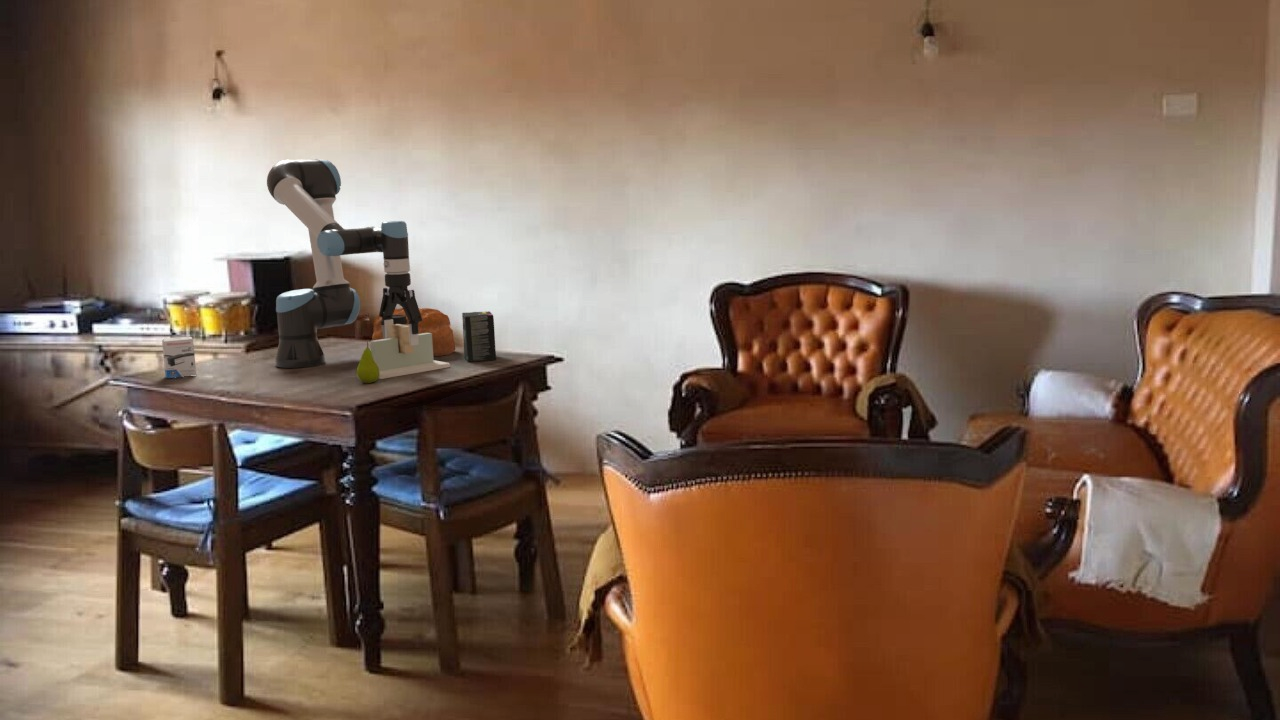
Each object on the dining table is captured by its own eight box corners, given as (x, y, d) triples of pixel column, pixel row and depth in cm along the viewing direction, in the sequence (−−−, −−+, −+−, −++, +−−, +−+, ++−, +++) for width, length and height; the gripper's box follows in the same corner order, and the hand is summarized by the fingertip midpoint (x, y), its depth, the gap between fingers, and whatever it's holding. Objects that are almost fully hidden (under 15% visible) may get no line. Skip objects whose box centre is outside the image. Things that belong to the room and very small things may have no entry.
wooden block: (391, 351, 336) (389, 325, 334) (399, 349, 338) (397, 324, 336) (405, 353, 330) (403, 327, 329) (413, 352, 332) (412, 326, 331)
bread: (388, 349, 376) (385, 304, 373) (459, 351, 369) (457, 305, 366) (368, 356, 363) (364, 310, 360) (441, 358, 356) (438, 310, 353)
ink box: (166, 379, 331) (162, 340, 329) (165, 376, 335) (161, 338, 333) (197, 376, 335) (193, 338, 333) (195, 373, 339) (191, 336, 337)
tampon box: (496, 360, 348) (494, 314, 345) (467, 362, 346) (464, 316, 343) (492, 355, 358) (490, 310, 356) (464, 357, 356) (461, 312, 353)
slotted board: (356, 373, 332) (354, 340, 330) (424, 362, 348) (422, 330, 346) (381, 378, 322) (378, 344, 320) (449, 367, 338) (447, 334, 336)
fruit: (359, 385, 313) (356, 343, 311) (356, 382, 318) (352, 341, 316) (382, 383, 315) (379, 341, 313) (378, 379, 321) (375, 339, 319)
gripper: (364, 271, 336) (369, 340, 340) (409, 276, 318) (413, 348, 322) (386, 269, 341) (390, 337, 345) (431, 273, 323) (435, 345, 327)
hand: (401, 342), depth 333 cm, fingers open, 13 cm apart
